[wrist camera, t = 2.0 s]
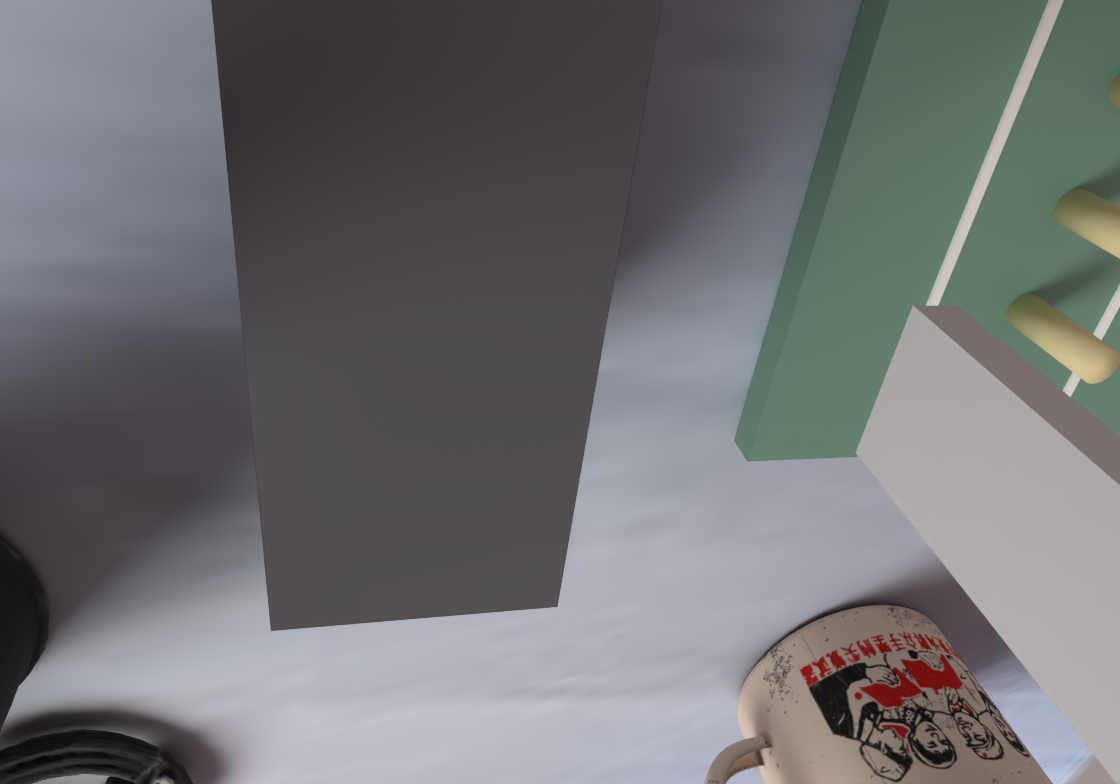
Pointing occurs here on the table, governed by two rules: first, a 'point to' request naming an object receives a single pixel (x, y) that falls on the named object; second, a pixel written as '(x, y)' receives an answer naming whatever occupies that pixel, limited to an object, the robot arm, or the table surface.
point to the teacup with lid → (871, 710)
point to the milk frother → (134, 765)
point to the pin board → (952, 212)
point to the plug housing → (424, 286)
